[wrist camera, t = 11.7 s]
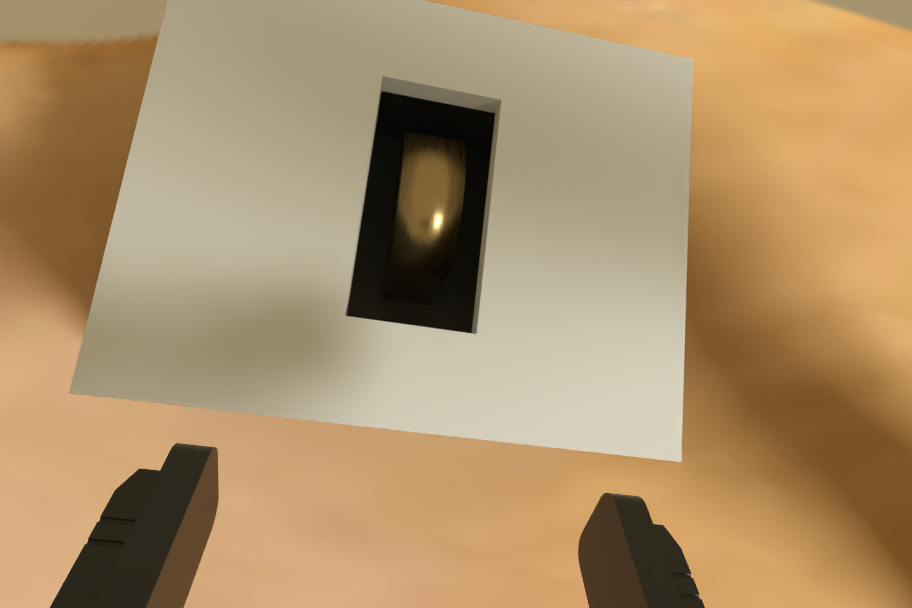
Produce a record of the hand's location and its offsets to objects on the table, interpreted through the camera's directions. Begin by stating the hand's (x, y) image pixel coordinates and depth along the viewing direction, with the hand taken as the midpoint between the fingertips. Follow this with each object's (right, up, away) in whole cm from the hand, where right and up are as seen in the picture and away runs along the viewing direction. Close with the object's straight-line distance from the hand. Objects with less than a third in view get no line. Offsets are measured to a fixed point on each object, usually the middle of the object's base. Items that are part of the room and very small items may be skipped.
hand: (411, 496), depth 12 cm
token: (-1, +7, +18) cm, 19 cm away
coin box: (-2, +6, +18) cm, 19 cm away
